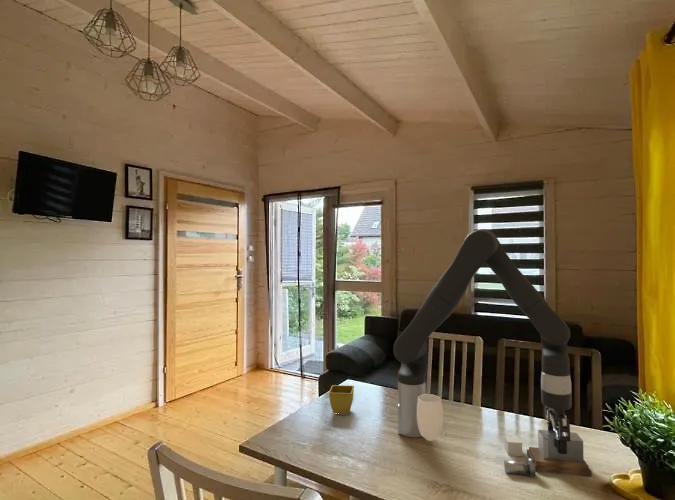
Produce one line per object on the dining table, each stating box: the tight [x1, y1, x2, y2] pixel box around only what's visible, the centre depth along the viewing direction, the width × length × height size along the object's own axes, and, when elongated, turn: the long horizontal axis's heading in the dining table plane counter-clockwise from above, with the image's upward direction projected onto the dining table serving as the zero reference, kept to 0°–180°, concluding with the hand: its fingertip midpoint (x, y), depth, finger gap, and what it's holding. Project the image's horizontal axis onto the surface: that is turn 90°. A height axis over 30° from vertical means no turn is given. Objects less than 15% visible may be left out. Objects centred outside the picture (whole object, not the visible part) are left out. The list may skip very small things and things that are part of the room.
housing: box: [537, 429, 585, 463], centre depth 110 cm, size 5×10×6 cm, turn 77°
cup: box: [417, 393, 444, 442], centre depth 108 cm, size 7×7×21 cm
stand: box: [526, 446, 593, 478], centre depth 110 cm, size 14×9×2 cm, turn 77°
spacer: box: [503, 435, 523, 457], centre depth 118 cm, size 4×4×4 cm
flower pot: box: [328, 384, 355, 415], centre depth 149 cm, size 9×9×9 cm
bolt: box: [503, 457, 537, 477], centre depth 107 cm, size 7×4×4 cm, turn 77°
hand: (557, 445), depth 110 cm, fingers open, 8 cm apart
